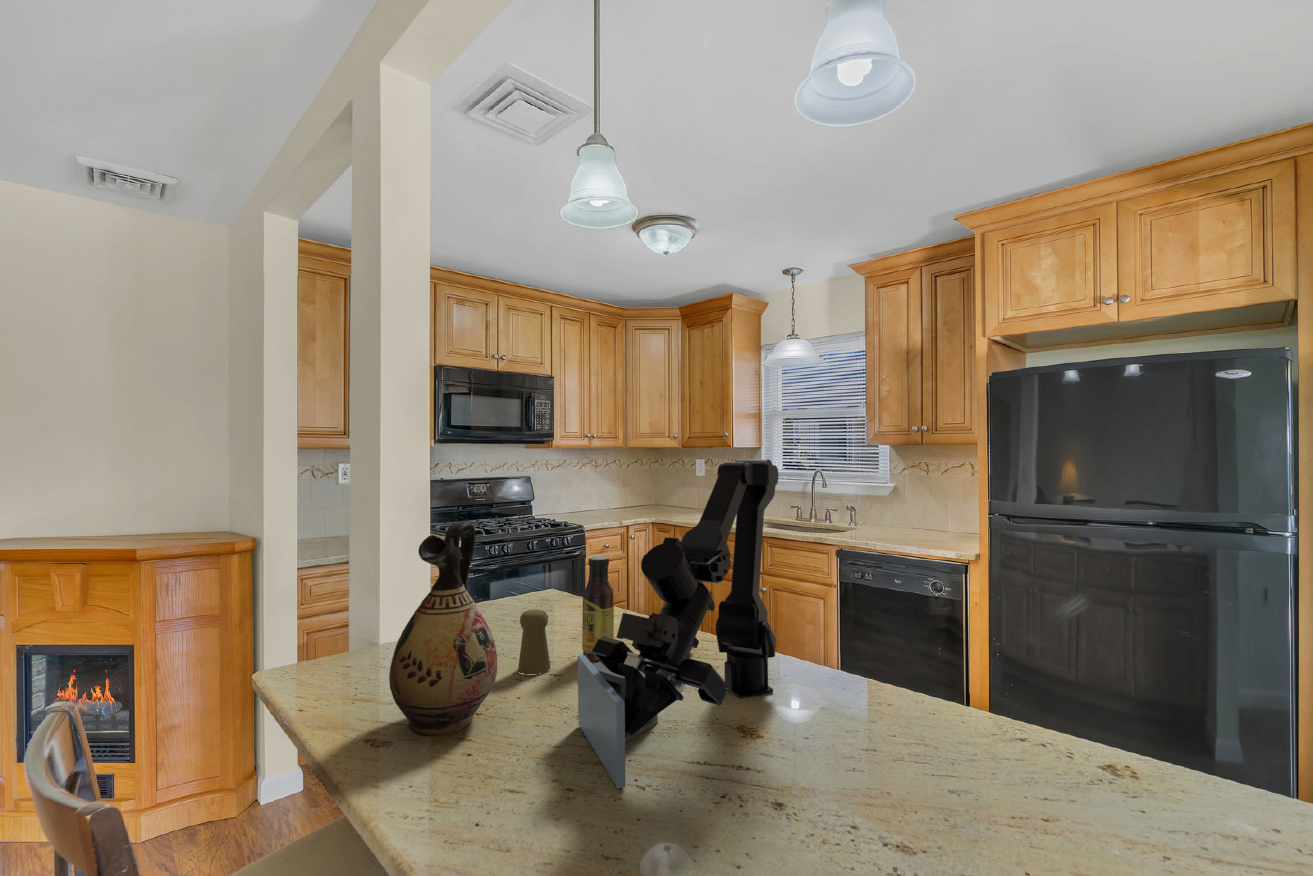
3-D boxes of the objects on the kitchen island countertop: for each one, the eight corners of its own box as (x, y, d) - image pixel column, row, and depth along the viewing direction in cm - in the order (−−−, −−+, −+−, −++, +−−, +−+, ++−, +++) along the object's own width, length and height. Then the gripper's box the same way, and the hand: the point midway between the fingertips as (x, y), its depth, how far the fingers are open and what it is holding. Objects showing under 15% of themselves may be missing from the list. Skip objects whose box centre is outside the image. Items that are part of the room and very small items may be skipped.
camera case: (618, 709, 96) (617, 654, 96) (657, 722, 91) (657, 665, 91) (586, 724, 91) (585, 667, 91) (626, 740, 86) (625, 678, 86)
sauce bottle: (578, 655, 123) (577, 555, 123) (607, 650, 125) (606, 553, 126) (588, 665, 117) (587, 560, 118) (619, 660, 120) (618, 558, 120)
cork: (511, 672, 113) (510, 612, 114) (532, 662, 119) (531, 605, 119) (536, 677, 111) (536, 616, 111) (557, 667, 116) (556, 608, 116)
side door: (584, 723, 91) (584, 655, 91) (625, 786, 73) (624, 702, 73) (578, 724, 90) (577, 655, 91) (617, 788, 73) (616, 703, 73)
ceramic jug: (466, 750, 83) (465, 529, 84) (366, 741, 86) (366, 528, 87) (518, 701, 100) (517, 517, 101) (433, 694, 103) (433, 516, 104)
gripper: (599, 578, 85) (538, 683, 76) (711, 597, 73) (654, 724, 64) (638, 621, 91) (585, 723, 82) (747, 646, 79) (699, 768, 70)
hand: (626, 733), depth 74 cm, fingers closed
